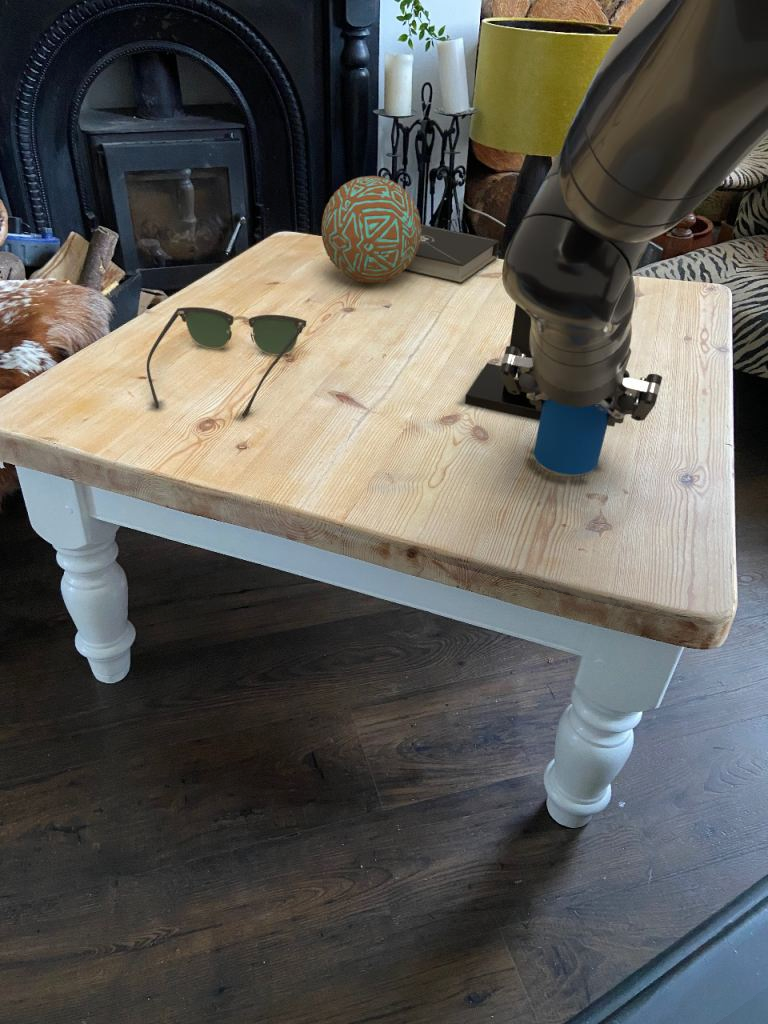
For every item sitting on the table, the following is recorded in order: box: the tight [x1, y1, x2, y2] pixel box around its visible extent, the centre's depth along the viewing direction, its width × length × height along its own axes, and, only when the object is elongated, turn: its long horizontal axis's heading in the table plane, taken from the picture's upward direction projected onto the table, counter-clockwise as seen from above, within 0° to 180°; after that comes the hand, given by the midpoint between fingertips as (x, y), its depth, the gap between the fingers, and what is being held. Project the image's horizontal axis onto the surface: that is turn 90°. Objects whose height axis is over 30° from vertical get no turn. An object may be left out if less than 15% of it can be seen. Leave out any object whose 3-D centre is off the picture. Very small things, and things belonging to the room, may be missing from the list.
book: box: [404, 223, 500, 284], centre depth 124 cm, size 22×15×3 cm
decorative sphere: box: [321, 175, 422, 284], centre depth 111 cm, size 15×15×15 cm
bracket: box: [464, 303, 542, 421], centre depth 83 cm, size 12×9×14 cm
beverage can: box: [533, 399, 609, 478], centre depth 73 cm, size 6×6×12 cm
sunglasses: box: [146, 306, 307, 417], centre depth 87 cm, size 16×17×5 cm
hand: (577, 408), depth 74 cm, fingers closed on beverage can, 6 cm apart
